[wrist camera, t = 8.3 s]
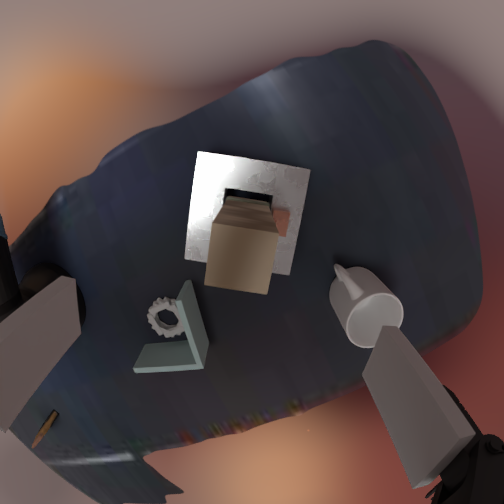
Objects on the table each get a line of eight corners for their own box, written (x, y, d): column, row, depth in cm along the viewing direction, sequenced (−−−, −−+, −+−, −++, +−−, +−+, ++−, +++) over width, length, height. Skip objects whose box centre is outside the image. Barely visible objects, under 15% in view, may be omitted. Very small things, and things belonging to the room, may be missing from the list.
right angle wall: (191, 279, 46) (181, 300, 39) (209, 341, 50) (203, 368, 43) (125, 289, 47) (107, 310, 40) (147, 347, 50) (135, 372, 43)
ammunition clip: (53, 409, 58) (35, 438, 46) (59, 413, 58) (41, 442, 47) (45, 420, 60) (29, 446, 49) (50, 424, 60) (34, 451, 49)
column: (222, 232, 36) (202, 286, 21) (228, 194, 35) (210, 221, 20) (261, 238, 36) (268, 296, 21) (267, 201, 35) (280, 232, 20)
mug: (350, 237, 44) (376, 260, 34) (384, 292, 47) (411, 322, 37) (305, 271, 46) (320, 302, 36) (344, 321, 49) (363, 358, 38)
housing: (192, 246, 44) (181, 263, 37) (205, 152, 40) (195, 150, 33) (284, 260, 45) (291, 281, 38) (302, 168, 41) (313, 170, 33)
